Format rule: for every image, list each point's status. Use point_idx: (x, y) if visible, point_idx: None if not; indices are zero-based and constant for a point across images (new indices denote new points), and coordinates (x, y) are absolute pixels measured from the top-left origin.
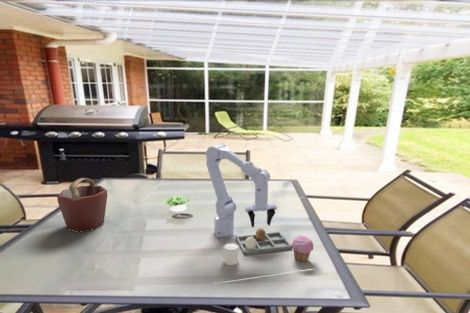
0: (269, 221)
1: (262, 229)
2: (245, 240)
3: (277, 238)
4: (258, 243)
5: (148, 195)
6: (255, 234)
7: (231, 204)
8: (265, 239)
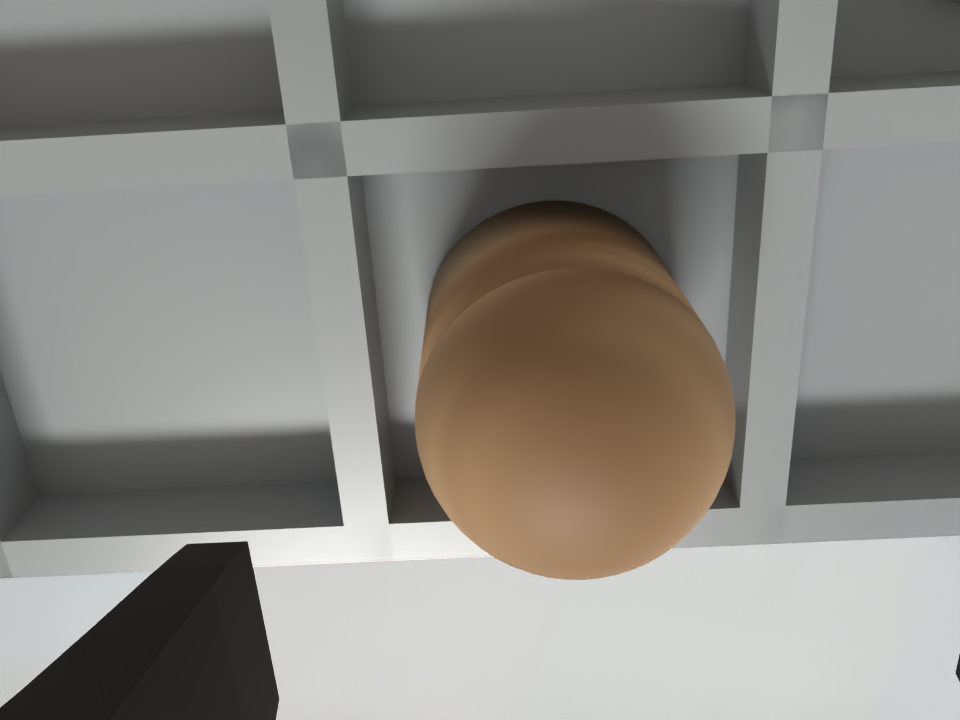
0: (132, 672)
1: (528, 470)
2: (923, 394)
3: (85, 352)
4: (703, 94)
5: None
6: None
7: None
8: (409, 356)
